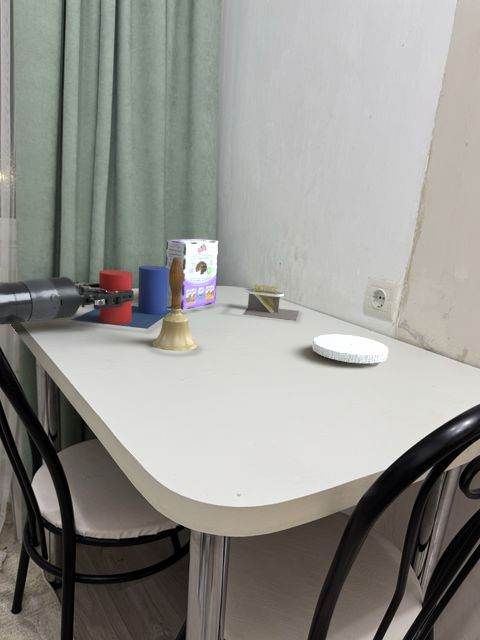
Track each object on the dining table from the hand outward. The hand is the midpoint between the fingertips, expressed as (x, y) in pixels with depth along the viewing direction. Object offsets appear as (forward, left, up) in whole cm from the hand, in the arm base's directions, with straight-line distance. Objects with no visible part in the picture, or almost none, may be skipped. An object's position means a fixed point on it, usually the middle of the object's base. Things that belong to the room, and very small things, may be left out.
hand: (118, 291), depth 104 cm
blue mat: (0, +5, -6) cm, 8 cm away
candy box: (+10, +23, -7) cm, 26 cm away
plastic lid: (+48, -7, -7) cm, 49 cm away
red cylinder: (0, -1, -6) cm, 6 cm away
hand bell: (+16, -13, -7) cm, 21 cm away
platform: (+28, +26, -7) cm, 39 cm away
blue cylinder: (+4, +11, -6) cm, 13 cm away
